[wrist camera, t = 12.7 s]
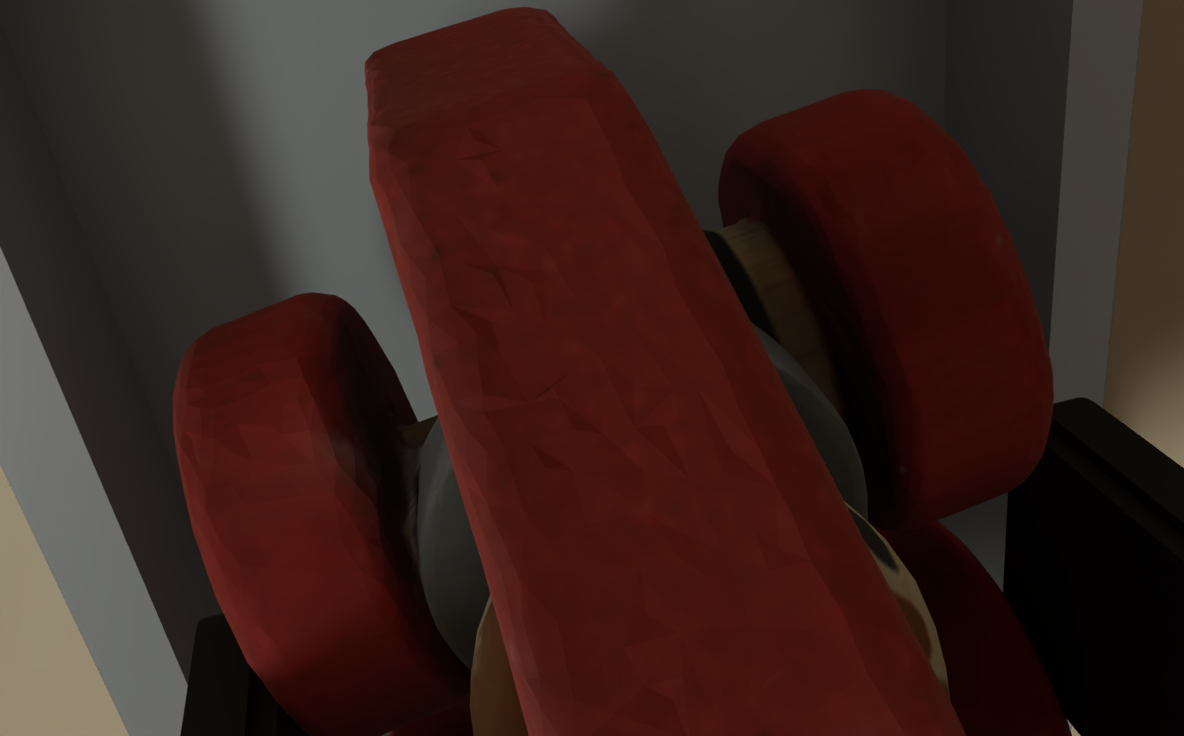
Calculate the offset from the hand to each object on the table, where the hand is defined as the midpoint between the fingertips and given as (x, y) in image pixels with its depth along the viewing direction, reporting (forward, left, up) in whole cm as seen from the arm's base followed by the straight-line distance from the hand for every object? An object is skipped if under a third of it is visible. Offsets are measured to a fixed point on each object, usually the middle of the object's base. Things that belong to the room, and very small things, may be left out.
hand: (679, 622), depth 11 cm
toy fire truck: (0, 0, -3) cm, 3 cm away
